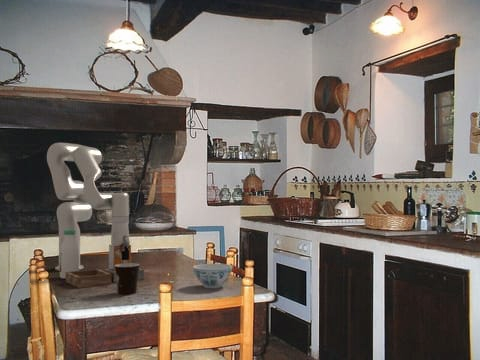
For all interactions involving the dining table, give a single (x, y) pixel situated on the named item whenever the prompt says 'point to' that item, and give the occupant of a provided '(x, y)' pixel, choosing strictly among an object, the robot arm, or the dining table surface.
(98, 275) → the walnut trough
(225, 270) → the chinaware
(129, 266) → the coffee mug
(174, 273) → the dining table surface
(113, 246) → the small box
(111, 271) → the frame
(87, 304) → the dining table surface
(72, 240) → the milk bottle
